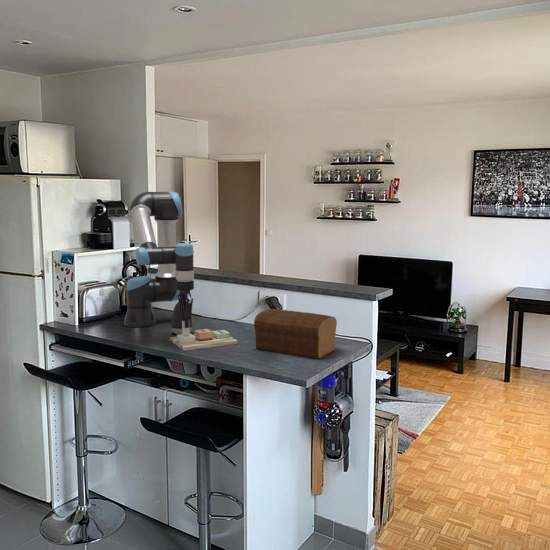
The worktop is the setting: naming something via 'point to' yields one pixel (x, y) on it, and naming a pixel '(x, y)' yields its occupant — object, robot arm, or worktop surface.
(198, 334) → the tile two
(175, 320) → the pump dispenser
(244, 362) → the worktop surface
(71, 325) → the worktop surface
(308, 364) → the worktop surface
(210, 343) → the board
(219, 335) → the tile three
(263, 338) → the bread
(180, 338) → the tile one
